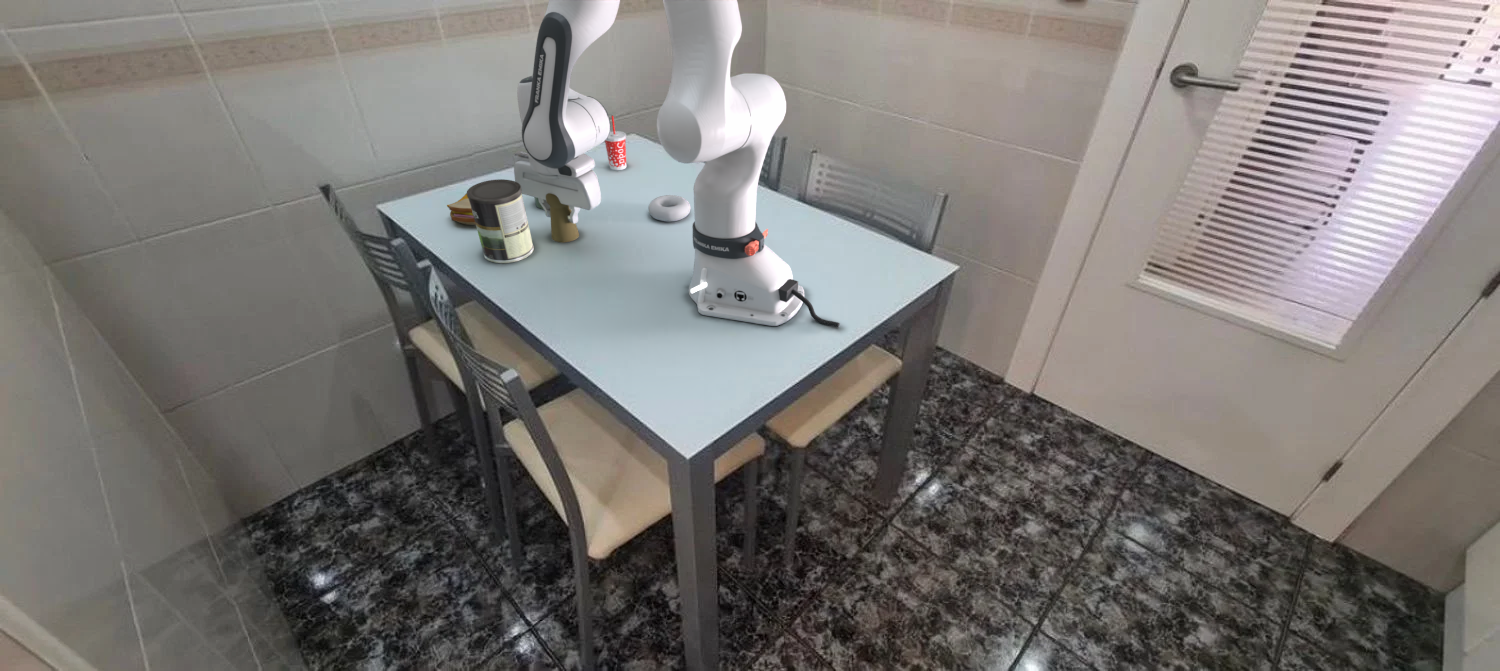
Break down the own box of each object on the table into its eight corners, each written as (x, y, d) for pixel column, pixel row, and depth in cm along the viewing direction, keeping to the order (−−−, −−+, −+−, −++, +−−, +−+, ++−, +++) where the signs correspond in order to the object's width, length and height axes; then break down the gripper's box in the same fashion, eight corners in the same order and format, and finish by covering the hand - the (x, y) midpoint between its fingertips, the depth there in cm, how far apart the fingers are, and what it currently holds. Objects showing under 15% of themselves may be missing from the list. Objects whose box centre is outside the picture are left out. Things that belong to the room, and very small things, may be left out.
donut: (654, 227, 141) (696, 220, 144) (653, 213, 139) (695, 206, 142) (644, 209, 148) (684, 203, 151) (643, 196, 146) (683, 189, 149)
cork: (572, 244, 133) (563, 196, 127) (546, 240, 134) (536, 193, 128) (583, 231, 138) (576, 185, 132) (558, 228, 139) (550, 182, 133)
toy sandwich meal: (519, 208, 147) (514, 189, 144) (481, 232, 137) (476, 213, 134) (476, 200, 150) (471, 181, 147) (436, 223, 140) (430, 204, 137)
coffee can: (482, 266, 125) (464, 202, 117) (484, 243, 133) (467, 181, 124) (535, 260, 128) (521, 196, 119) (534, 237, 135) (520, 176, 127)
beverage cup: (611, 172, 166) (604, 120, 157) (603, 165, 170) (597, 113, 162) (632, 169, 168) (627, 117, 160) (624, 161, 172) (619, 110, 164)
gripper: (501, 154, 127) (515, 215, 135) (581, 171, 120) (591, 235, 128) (522, 144, 131) (534, 204, 140) (601, 161, 125) (609, 222, 133)
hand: (562, 219), depth 134 cm, fingers closed on cork, 4 cm apart
